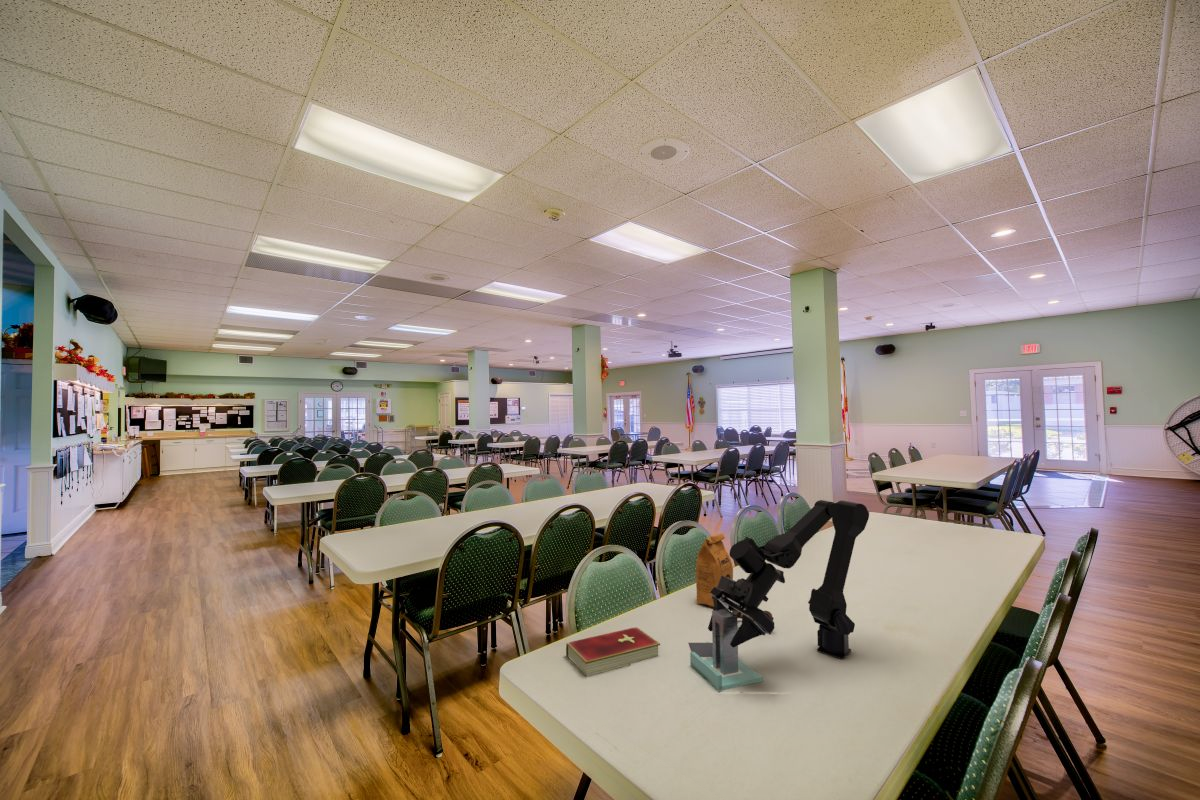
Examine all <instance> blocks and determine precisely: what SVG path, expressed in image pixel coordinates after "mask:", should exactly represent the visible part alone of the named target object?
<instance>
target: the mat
mask: <svg viewBox="0 0 1200 800" xmlns="http://www.w3.org/2000/svg"><path fill="white" fill-rule="evenodd" d="M687 643H688V646H689V647H688V648H689V650H690V651H691V652H695V653H696V654H697V655H699V656H700V657H701V658H713V642H687Z"/></svg>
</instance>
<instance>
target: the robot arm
mask: <svg viewBox="0 0 1200 800" xmlns="http://www.w3.org/2000/svg"><path fill="white" fill-rule="evenodd" d="M869 517H870V512H869V510H868V509H867V506H866V505H864V504H863V503H857V502H853V501H847V500H842V499H841V500H839V501H837V502H833V501H829V500H824V499H819V500H817V501H816V502H815V503H814V505H813V507H812V508H810V510H808V512H807V513H805V514H804V515H803V516H802V517H800V519H799V520H798V521H796V523H795V524H794V525H793V526H791V528H790V529H789V530H788V531H786V532H784V533H781V534H778V535H776V536H774V537H773V538H771V539H769V540H768V541H767V542H765V544H763V545H760V546H758V545H757V543H756V542H755V540H754V539H753V538H751V537H749V536H745V538H744V539H742V540H739V541H737V542H736V543H735V544H733V545H732V546H731V548H730V549H729V553H728V555H729V557H730V559H732V560H733V561H734V562H735V563H736V564H737V566H738V567H739V568H741V570H742V571H744V572H745V573H746V574H749V575H748V576H747V577H746V579H745V578H744V577H742V578H738V579H737V580H734V579H733V580H732V579H730V578H727V577H725V576H722V575H721V578H720V581H719V583H718V586H717V587H714V588H713V589H712V591H711V592H710V594H711V595H712V597H711V598H712V599H713V603H714V607H713V610H712V611H716V610H722V609H727V610H729V611H731V612H732V610H734V609H736V610H738V611H739V612H741V613H743V614H742V619H741V624H740V626H739V628H738V631H737V632H736V634H735V636H734V637H733V639H732V641H731V643H730V645H731V646H732V647H733V648H734V647H736V646H738V647H739V645H741V644H742V645H743V644H744V643H746V642H748V641H750V640H752V639H754V638H757V637H759V636H766V634H768V635H771V634H772V633H773V631H774V630H775V621H774V620H773V621H772V620H771V619H770V618H769V617H768V616H767V614H766V613H765V612H764V611H765V610H762V609H761V608H759V606H760V605H761V604H762V602H766V603H767V602H768V600H769V598H768V596H767V595H768V593H769V592H770V590H771V589H772V588H773V587H774V585H775V583H776V582H779V583H781V584H785V583H786V577H785V575H784V571H783V570H780V569H778V568H776V567H775V566H778V567H780V568H782V569H791V568H792V567H794V566H795V564H796V563H797V562H798V560H799V558H800V557H801V556H802V550H803V548H804V546H805V545H806V544H807V543H808V542H809V541H810V540H811V539H812V538H813V537H814V536H815V535H816V534H817V533H818V532H819V531H820V530H821V529H822V528H823V527H824V526H825V525H826V524H827V523H828V522H830V520H831V521H832V526H833V528H834V536H833V540H832V544H831V548H830V549H831V550H830V553H829V555H828V556H829V557H828V560H827V564H826V568H825V573H824V576H823V581H822V584H821V585H820V587H818V588H817V589H816V588H812V589H811V591H810V597H809V600H808V602H807V603H808V605H809V606H808V610H809V612H810V615H811V616H812V618H813V622H814V623H816V624H818V630H817V633H816V634H817V647H818V648H816V649H817V650H816V651H817V652H819V653H820V654H824V655H828V656H830V657H834V658H837V659H841V660H844V659H845V658H846V657H847V656H848V655H849V654H850V653H851V652H852V648H849V646H850V645H849V644H850V643H849V635H850V634H851V633H854V630H855V626H856V624H855V622H854V621H853V620H852V619H851V618H850V617H849V616H848V615H847V606H848V605H847V602H846V598H845V594H844V589H845V584H846V582H847V581H846V580H847V577H848V572H849V567H850V565H851V564H850V563H851V560H852V555H853V552H854V547H855V542H856V539H857V538H858V536H860V534H862V533H863V531H865V529H866V527H867V523H868V521H869ZM766 561H767V562H766ZM774 565H775V566H774ZM738 606H739V607H738ZM744 609H745V610H744ZM745 615H746V616H745ZM747 616H748V617H747ZM707 630H708V631H710V632H712V615H711V616H710V619H709V623H708V626H707Z"/></svg>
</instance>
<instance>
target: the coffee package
mask: <svg viewBox="0 0 1200 800" xmlns="http://www.w3.org/2000/svg"><path fill="white" fill-rule="evenodd" d="M725 538H726V537H725V534H724V533H719V534H716V535H712V536H708V537H707V538H705V539H704V542H703V543H702V545H701V547H700V549H699V550H698V553H697V556H696V557H697V558H696V563H695V565H696V566H695V569H696V570H695V580H696V581H695V583H696V585H695V586H696V604H699V605H706V606H710V607H712V608H714V603H713V599H712V598H711V597H712V595H711V594H710V592H711V591H712V589H713V588H714V587H717V586H718V583H719V581H720V578H721V575H722V576H725V577H727V578H730V579H732V580H734V567H733V564H732V563H733V562H732V560H731V559H732V558H731V557H730V554H729V553H728V552H727V550H726V548H725V545H724V542H723V540H725Z"/></svg>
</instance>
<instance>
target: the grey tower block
mask: <svg viewBox="0 0 1200 800" xmlns="http://www.w3.org/2000/svg"><path fill="white" fill-rule="evenodd" d="M711 616H712V631H711V632H712V639H711V640H712V643H713V657H712V658H713V667H715V668H716V669H717V668H721V673H722V674H723V675H727V674H732V673H736V672H738V659H739V645H738V646H736V647H734V648H733V647H732V646H731V645H730V643H731V641H732V639H733V637H734V636H735V634H736V632H737V631H738V629H739V628H738V618H737V615H735V614H734V613H732V611H730V610H727V609H722V610H716V611H713V610H711Z"/></svg>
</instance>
